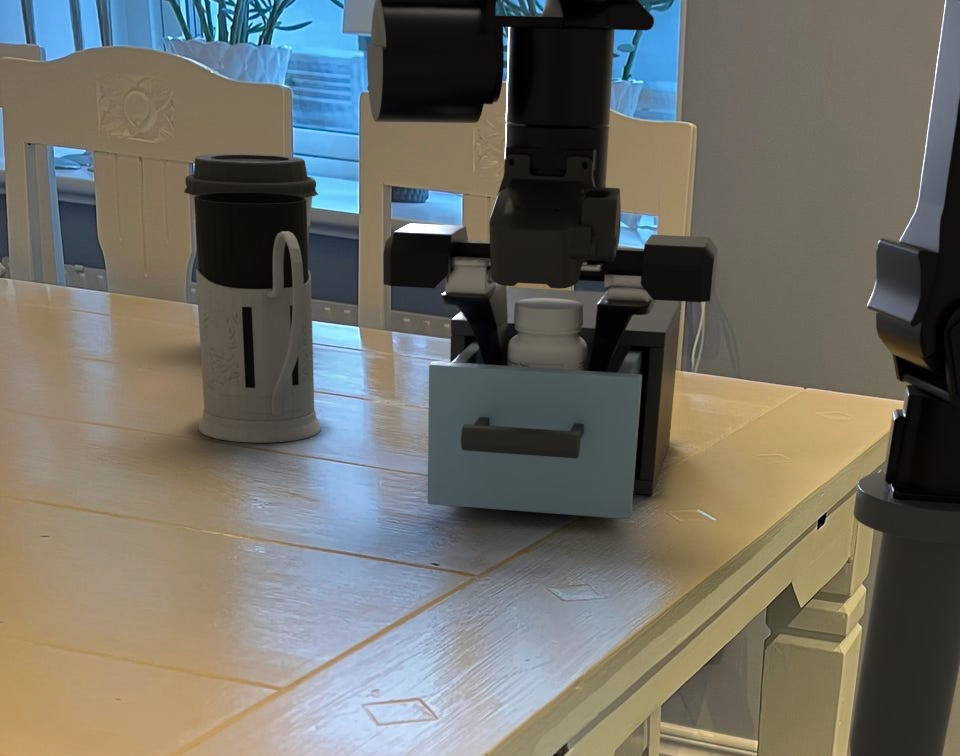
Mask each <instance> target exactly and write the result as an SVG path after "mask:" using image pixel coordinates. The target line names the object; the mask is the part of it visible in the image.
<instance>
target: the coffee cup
mask: <svg viewBox="0 0 960 756" xmlns="http://www.w3.org/2000/svg"><path fill="white" fill-rule="evenodd" d="M185 186H186V187H185V189H184V193H185V194H188V195H190V198H191V205H192V210H193V216H194V222H195V224H196V218H195V201H194V197H195V196H197V195H200V194H207V193H220V192H263V193H279V194H289V195H296V196H301V197H304V198H306V202H307V241H308V242H309V239H310V227H311V216H312V215H311V214H312V203H313V197H315V196H318V195H319V193H318V192H317V190H316V187H317V181H316V180H315V178H314V177H311V176H308V172H307V167H306V161H305V160H304V159H303V158H302V157H297V156H290V155H281V154H279V155H278V154H263V153H262V154H260V153H216V154H203V155H197V156H195V157H194V166H193V174H190V175H189V174H188V175H187V176H186V177H185Z"/></svg>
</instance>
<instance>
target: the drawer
mask: <svg viewBox="0 0 960 756" xmlns="http://www.w3.org/2000/svg"><path fill="white" fill-rule="evenodd" d="M510 340H511V338H508V343H509V342H510ZM592 344H593V343H586V345H587V369H586V371H581V370H565V369H549V368H533V367H517V366H502V365H486V364H484V360H483V358H482V355H481V352H480V349H479V346H478V343H477V341H476V340H475V341H474V342H472V343H471V344H470V345H469V346H468V347H467V348H466V349H465V350H464V351H463V352H462V353H461V354H460V355H459V356H458V357H457V358H456V359H455V360H454V361H453V362H450V361H437V360H434V361H432V362H431V363H429V365H428V418H427V419H428V421H427V423H428V424H427V425H428V426H427V428H428V430H427V431H428V432H427V434H428V435H427V436H428V437H427V446H428V447H427V504H428V505H432V506H433V505H435V506H446V507H447V506H449V507H461V508H473V509H475V508H476V509H488V510H500V511H516V512H525V513H526V512H527V513H528V512H529V513H539V514H540V513H542V514H554V515H567V516H568V515H569V516H580V517H594V518H607V519H618V520H630V519H631V516H632V514H633V501H634V494H633V489H634V476H635V463H636V461H637V458H638V446H639V434H640V421H641V408H642V395H643V382H644V369H645V356H646V347H643V346H627V345H618V346H617V348H616V351H615V353H614V356H613V359H612V361H611V364H610V367H609V370H608V372H597V371H588V368H589V362H590V356H591V350H592Z"/></svg>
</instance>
